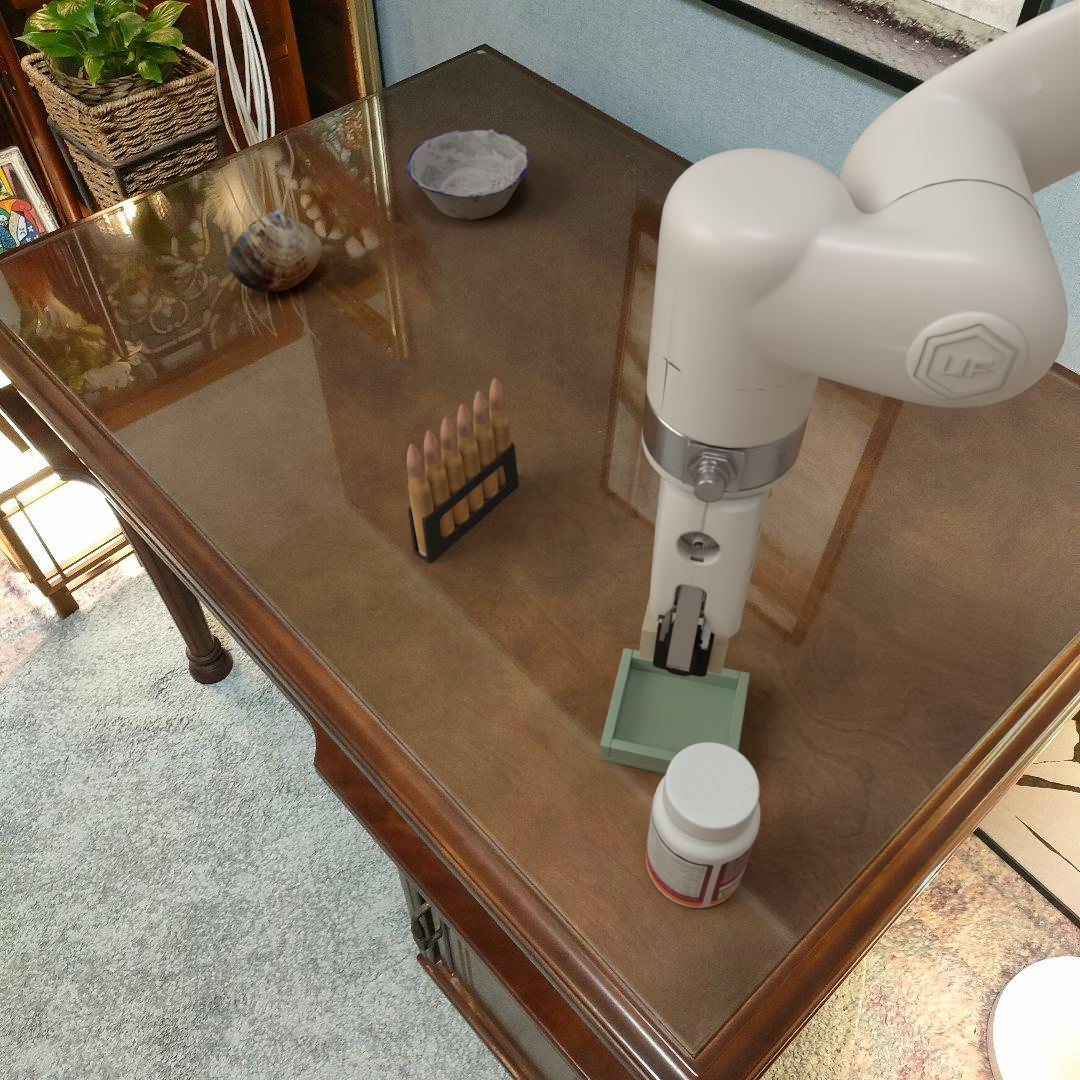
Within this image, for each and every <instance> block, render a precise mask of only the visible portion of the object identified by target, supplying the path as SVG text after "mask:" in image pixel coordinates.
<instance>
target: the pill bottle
mask: <svg viewBox="0 0 1080 1080" xmlns="http://www.w3.org/2000/svg"><path fill="white" fill-rule="evenodd" d="M758 778H759V777H758V775H757V772H756V771H755V768H754V766H753V764H752V763H751V762H750V761H749V760H748V759H747V758H746V756H744V755H743V754H742V753H740V751H736V750H735V749H733V748H731V747H729V746H726V745H723V744H719V743H712V742H704V743H697V744H694V745H691V746H688V747H687V748H685V749H683V750H682V751H680V752H679V753H678V754H677V755H676V756H675V757H674V758H673V760H672V761H671V763H670V765H669V767H668V769H667V772H666V774H664V775H663V777H662V779H661V780H660V781H659V783H658V785H657V787H656V789H655V793H654V795H653V797H652V805H651V810H650V815H649V824H648V832H647V839H646V847H645V863H646V869H647V872H648V875H649V877H650V879H651V881H652V883H653V884H654V886H655V887H656V888H657V889H658V891H659V892H661V894H663V896H665V898H667V899H669V900H670V901H672V902H673V903H675V904H678V905H681V906H683V907H688V908H693V909H694V908H695V909H703V908H710V907H714V906H716V905H719V904H721V903H723V902H724V901H726V900H727V899H728V898H730V897H731V895H733V893H735V891H736V890H737V888H738V887H739V885H740V883H741V881H742V878H743V877H744V876H743V875H744V874H745V871H746V868H747V864H748V862H749V859H750V856H751V853H752V850H753V847H754V845H755V841H756V839H757V837H758V834H759V831H760V824H761V805H760V801H759V798H760V782H759V779H758Z"/></svg>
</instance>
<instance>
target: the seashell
mask: <svg viewBox="0 0 1080 1080" xmlns="http://www.w3.org/2000/svg"><path fill="white" fill-rule="evenodd" d="M322 253H323V245H322V242H321V240H320V238H319V237H318V236H317V235H316V234H315V233H314V231H313V230H312V228H311V227H310V226H308V225H307V224H305V223H302V222H299V221H296V220H293V219H292V218H291V217H289V216H287V215H286V214H285V213H283V212H282V211H281V210H279V209H278V210H277V209H276V210H272V211H269V212H267V213H265V214H264V215H262V216H261V217H259V218H258V219H256V220H255V221H253V222H251V224H249V225H248V226H247V227H246V228H245V229H244V230H243V231H242V233H241V234H240V235H239V236H238V237H237V239H236V241H235V243H234V245H233V247H232V249H231V250H230V252H229V254H228V256H227V260H226V261H227V262H226V263H227V264H226V265H227V267H228V269H229V271H230V272H231V273H232V274H233V275H234V277H235V278H236V279H237V280H238V282H239V283H240V284H242V285H243V286H245V287H246V288H247V289H250V290H252V291H255V292H258V293H274V292H275V293H276V292H283V291H286V290H289V289H291V288H294V287H295V286H297V285H298V284H300V283H302V281H304V280H305V279H307V277H309V276H310V274H312V272H313V271H314V269H315V268H316V267H317V265H318V263H319V261H320V259H321V256H322Z"/></svg>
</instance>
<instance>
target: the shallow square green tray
mask: <svg viewBox="0 0 1080 1080" xmlns="http://www.w3.org/2000/svg"><path fill="white" fill-rule="evenodd" d="M639 651H640V650H637V649H633V648H628V647H624V648H623V650H622V654H621V659H620V662H619V666H618V670H617V674H616V677H615V682H614V686H613V691H612V694H611V698H610V702H609V707H608V711H607V715H606V719H605V723H604V728H603V732H602V735H601V740H600V744H599V760H601V761H605V762H609V763H614V764H618V765H623V766H628V767H632V768H636V769H641V770H646V771H650V772H655V773H657V774H658V773H659V774H663V775H666V772H667V769H668V767H669V765H670V763H671V761H672V760H673V758H674V757H675V756H676V755H677V754H678V753H679V752H680V751H682V750H683V749H685V748H687V747H688V746H691V745H694V744H697V743H704V742H712V743H719V744H723V745H726V746H729V747H731V748H733V749H735V750H736V751H738V752H740V751H739V750H740V744H741V737H742V729H743V724H744V723H743V722H744V718H745V717H744V716H745V710H746V703H747V697H748V690H749V682H750V676H751V673H750V672H747V671H740V670H736V669H732V668H727V667H723V669H722V673H721V674H718V673H713V672H708V671H707V674H706V676H704V677H698V676H693V675H690V676H679V675H674V674H671V673H669V672H668V671H667V670H664V669H659V668H656V667H655V666H654V665H653V660H650V659H645V658H640V657H639Z"/></svg>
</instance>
